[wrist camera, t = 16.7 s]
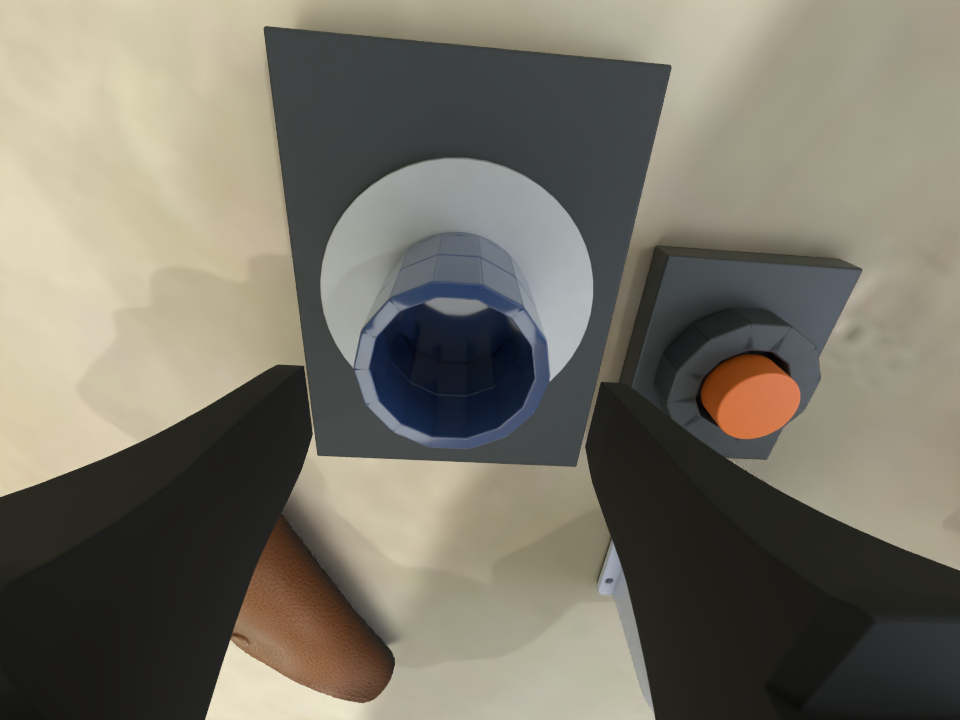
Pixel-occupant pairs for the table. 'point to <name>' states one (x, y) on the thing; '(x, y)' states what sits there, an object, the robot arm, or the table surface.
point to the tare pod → (731, 329)
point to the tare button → (750, 396)
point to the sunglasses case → (309, 625)
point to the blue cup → (453, 345)
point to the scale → (458, 204)
